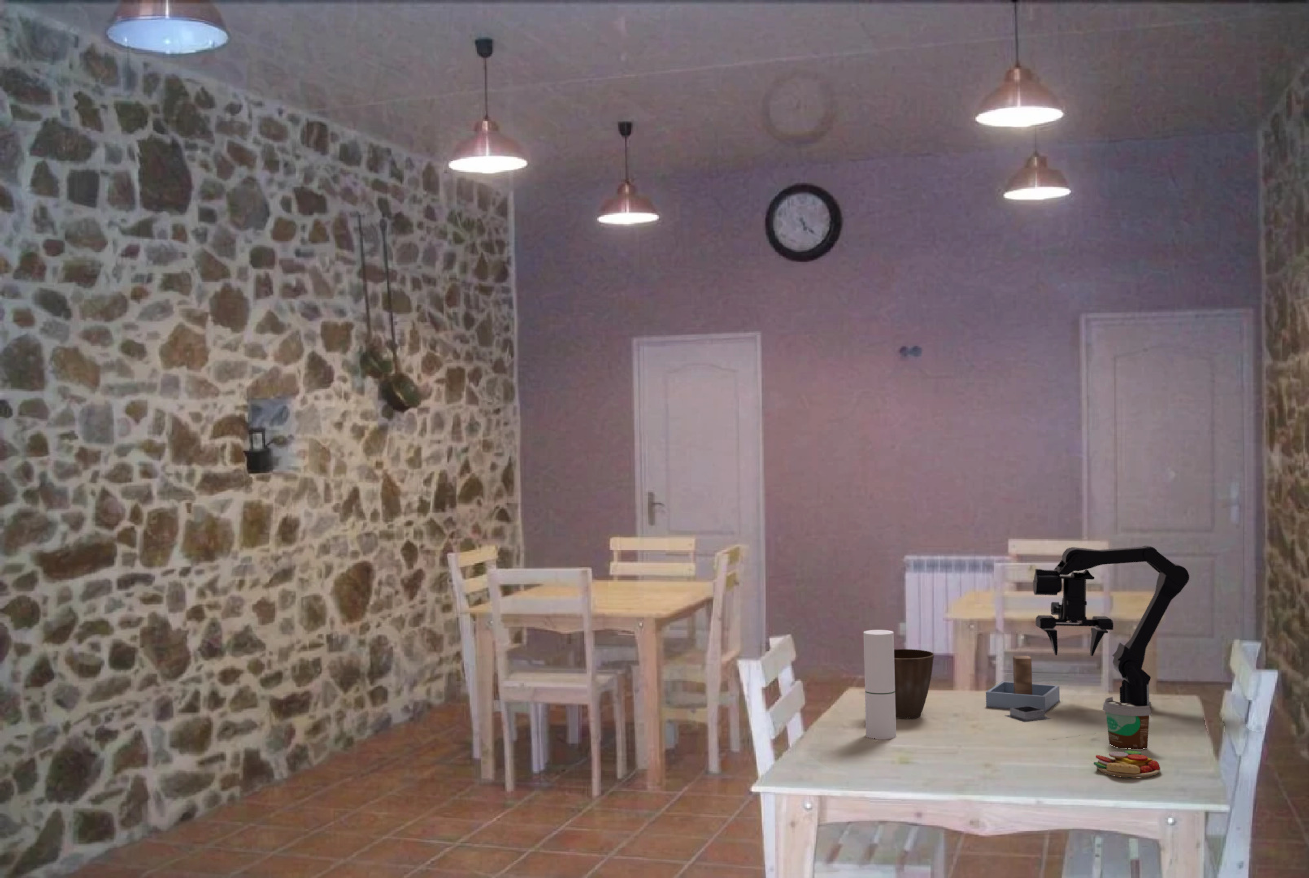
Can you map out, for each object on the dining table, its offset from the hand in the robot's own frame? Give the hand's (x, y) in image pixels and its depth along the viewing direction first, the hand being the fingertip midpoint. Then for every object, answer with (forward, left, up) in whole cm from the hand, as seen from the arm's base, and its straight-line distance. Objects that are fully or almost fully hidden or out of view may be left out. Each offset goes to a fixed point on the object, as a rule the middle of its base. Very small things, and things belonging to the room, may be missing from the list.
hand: (1073, 655), depth 339 cm
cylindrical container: (+34, +52, -13) cm, 63 cm away
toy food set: (-24, +60, -14) cm, 66 cm away
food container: (-19, +39, -13) cm, 45 cm away
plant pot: (+36, +29, -13) cm, 48 cm away
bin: (+12, +6, -13) cm, 19 cm away
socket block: (+7, +21, -13) cm, 26 cm away
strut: (+12, +6, -12) cm, 18 cm away
